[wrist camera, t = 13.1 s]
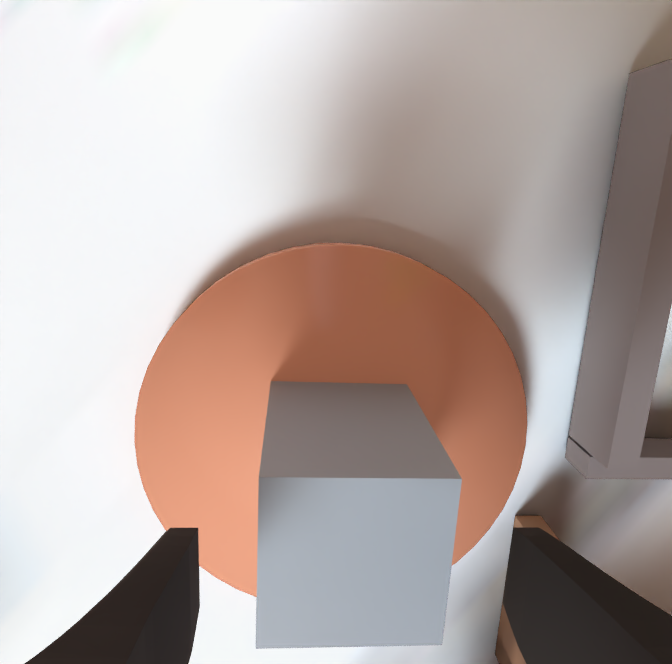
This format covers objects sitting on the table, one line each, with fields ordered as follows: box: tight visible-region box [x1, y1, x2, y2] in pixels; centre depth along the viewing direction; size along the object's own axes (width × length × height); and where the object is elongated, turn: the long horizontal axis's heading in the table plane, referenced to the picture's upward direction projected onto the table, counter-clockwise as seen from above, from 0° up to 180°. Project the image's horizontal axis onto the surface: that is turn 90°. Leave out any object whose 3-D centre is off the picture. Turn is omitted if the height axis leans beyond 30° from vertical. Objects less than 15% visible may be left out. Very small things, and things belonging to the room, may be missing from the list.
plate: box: [135, 242, 527, 597], centre depth 18 cm, size 13×13×1 cm
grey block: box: [256, 381, 462, 649], centre depth 15 cm, size 4×4×6 cm
